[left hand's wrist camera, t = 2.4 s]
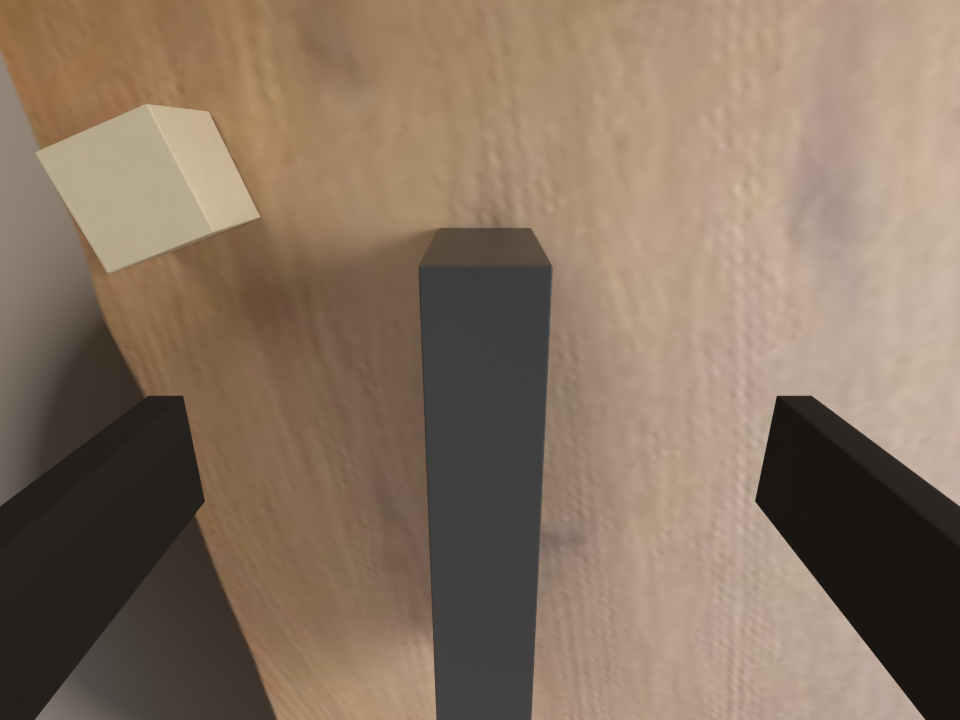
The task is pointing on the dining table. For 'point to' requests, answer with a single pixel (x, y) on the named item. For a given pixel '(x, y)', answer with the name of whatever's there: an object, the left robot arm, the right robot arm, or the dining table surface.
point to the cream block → (148, 183)
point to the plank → (484, 462)
